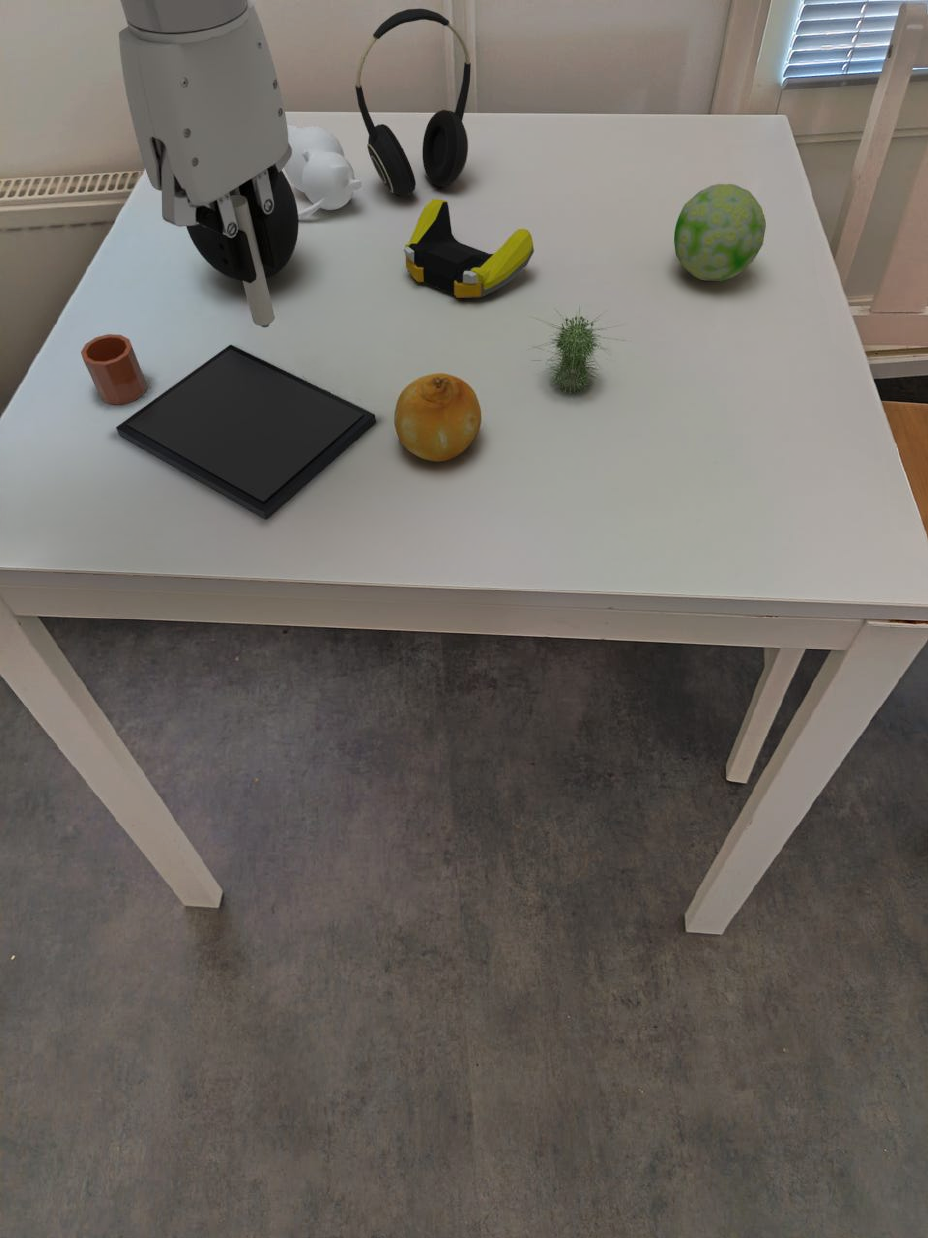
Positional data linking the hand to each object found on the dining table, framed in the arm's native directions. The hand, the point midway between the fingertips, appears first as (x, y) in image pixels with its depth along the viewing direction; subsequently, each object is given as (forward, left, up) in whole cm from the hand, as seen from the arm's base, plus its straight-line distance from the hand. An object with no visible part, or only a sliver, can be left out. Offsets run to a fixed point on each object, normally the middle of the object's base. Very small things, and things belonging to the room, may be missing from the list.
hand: (250, 266), depth 66 cm
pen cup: (-3, +21, -19) cm, 29 cm away
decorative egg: (+20, +24, -20) cm, 37 cm away
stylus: (0, 0, -5) cm, 5 cm away
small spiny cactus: (+24, -17, -20) cm, 35 cm away
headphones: (+47, +20, -20) cm, 55 cm away
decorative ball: (+50, -20, -20) cm, 57 cm away
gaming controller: (+34, +4, -20) cm, 39 cm away
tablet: (0, +6, -19) cm, 20 cm away
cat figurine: (+37, +29, -20) cm, 51 cm away
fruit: (+9, -11, -20) cm, 24 cm away
